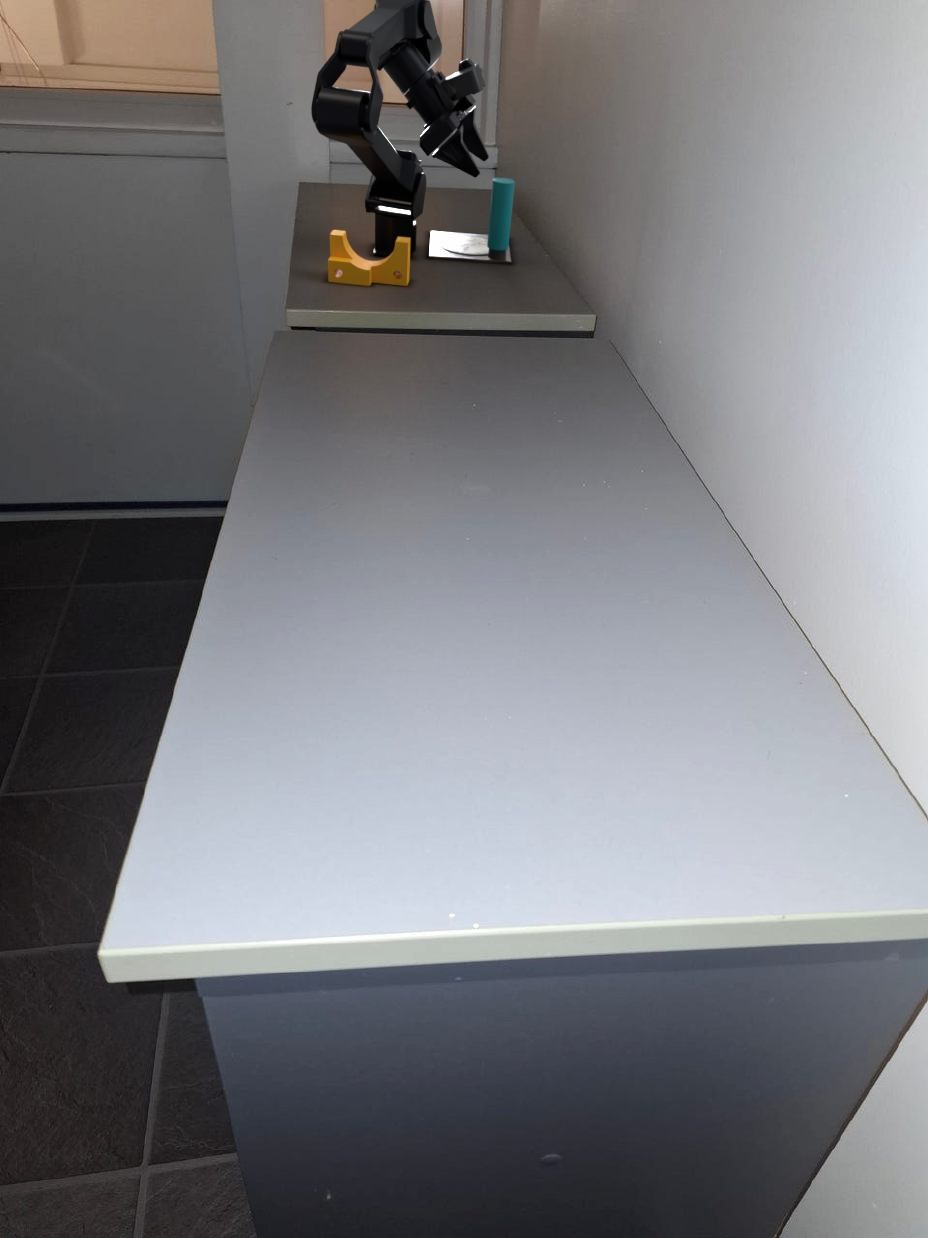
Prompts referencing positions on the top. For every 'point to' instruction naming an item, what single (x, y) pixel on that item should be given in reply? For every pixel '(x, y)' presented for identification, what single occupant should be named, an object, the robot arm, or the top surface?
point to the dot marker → (500, 217)
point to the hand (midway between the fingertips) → (482, 167)
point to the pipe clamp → (367, 263)
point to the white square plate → (462, 247)
